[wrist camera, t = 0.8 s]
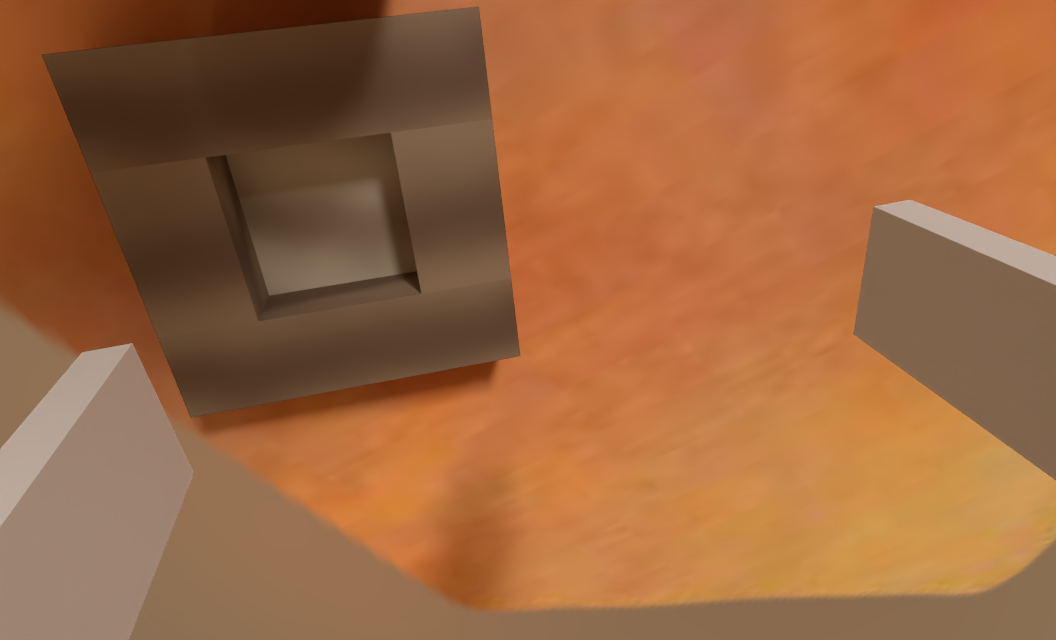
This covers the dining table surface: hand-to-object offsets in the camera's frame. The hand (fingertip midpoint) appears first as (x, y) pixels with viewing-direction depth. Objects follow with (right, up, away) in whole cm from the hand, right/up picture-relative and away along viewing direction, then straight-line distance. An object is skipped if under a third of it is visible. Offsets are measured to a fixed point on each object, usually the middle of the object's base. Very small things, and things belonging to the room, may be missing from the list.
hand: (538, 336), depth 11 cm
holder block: (-10, +6, +20) cm, 23 cm away
